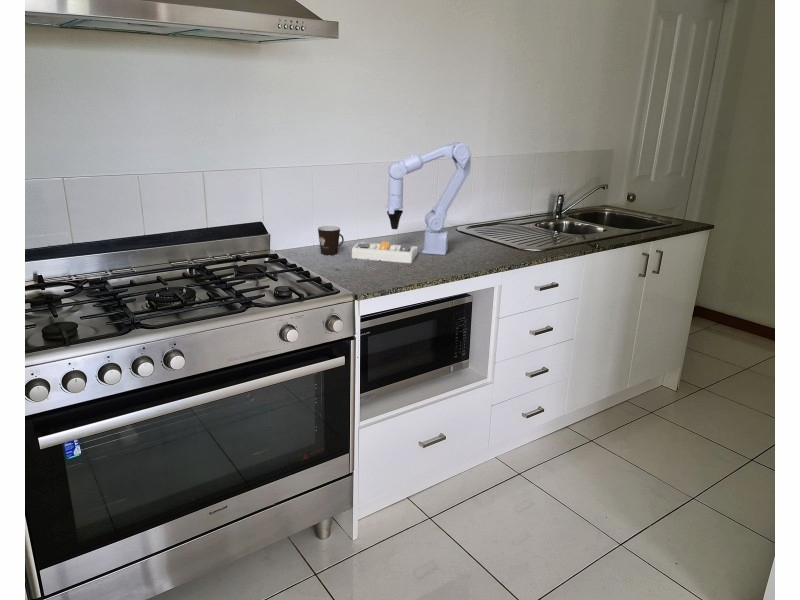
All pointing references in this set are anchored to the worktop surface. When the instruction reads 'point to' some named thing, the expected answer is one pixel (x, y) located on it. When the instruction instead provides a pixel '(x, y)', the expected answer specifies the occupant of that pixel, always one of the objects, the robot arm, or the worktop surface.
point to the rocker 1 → (363, 245)
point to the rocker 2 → (404, 247)
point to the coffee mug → (329, 239)
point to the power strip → (384, 253)
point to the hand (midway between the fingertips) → (394, 228)
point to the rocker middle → (384, 246)
